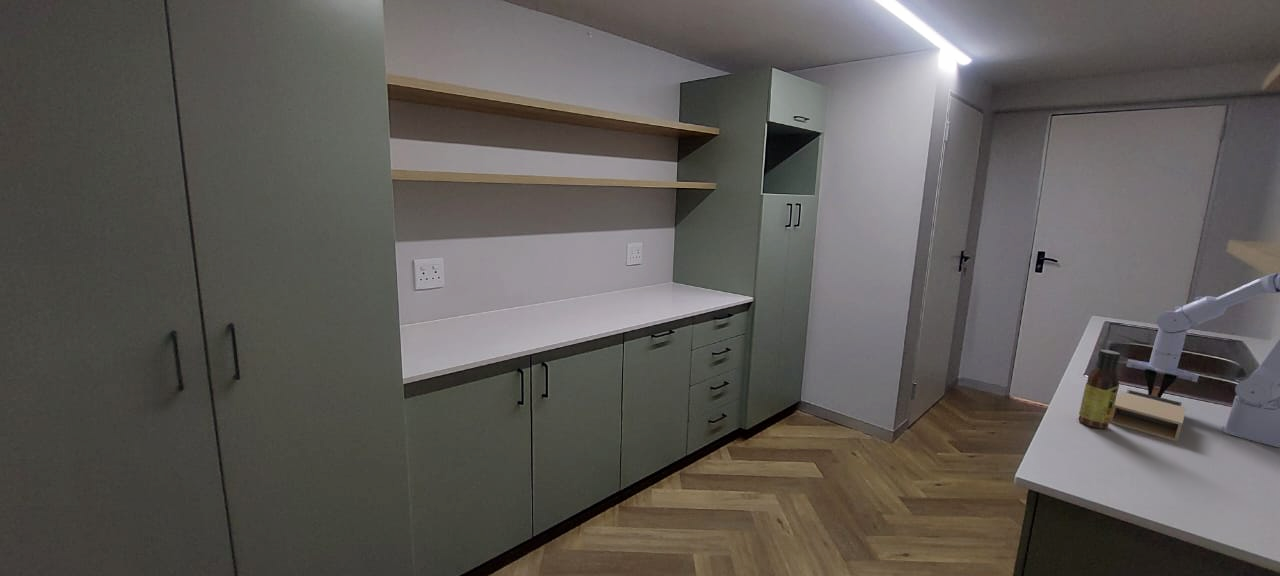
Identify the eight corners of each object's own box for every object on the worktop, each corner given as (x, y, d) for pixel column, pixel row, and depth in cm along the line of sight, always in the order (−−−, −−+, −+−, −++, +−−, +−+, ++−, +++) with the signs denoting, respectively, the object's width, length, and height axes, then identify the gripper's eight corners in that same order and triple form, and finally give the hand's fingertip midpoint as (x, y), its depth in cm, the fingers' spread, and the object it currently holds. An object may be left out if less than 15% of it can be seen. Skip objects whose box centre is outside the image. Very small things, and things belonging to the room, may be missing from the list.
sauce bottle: (1109, 432, 132) (1128, 358, 128) (1077, 424, 136) (1095, 352, 132) (1107, 423, 138) (1125, 352, 133) (1076, 416, 141) (1093, 346, 137)
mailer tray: (1175, 428, 135) (1179, 412, 134) (1118, 412, 143) (1122, 397, 142) (1180, 408, 148) (1184, 393, 147) (1127, 394, 156) (1131, 380, 155)
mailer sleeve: (1177, 441, 129) (1182, 423, 128) (1108, 422, 139) (1112, 404, 138) (1181, 425, 139) (1186, 407, 138) (1116, 407, 148) (1120, 391, 147)
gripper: (1130, 348, 151) (1118, 392, 153) (1203, 362, 140) (1189, 409, 143) (1133, 343, 155) (1122, 386, 158) (1203, 357, 145) (1190, 403, 148)
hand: (1154, 397), depth 151 cm, fingers closed on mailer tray
